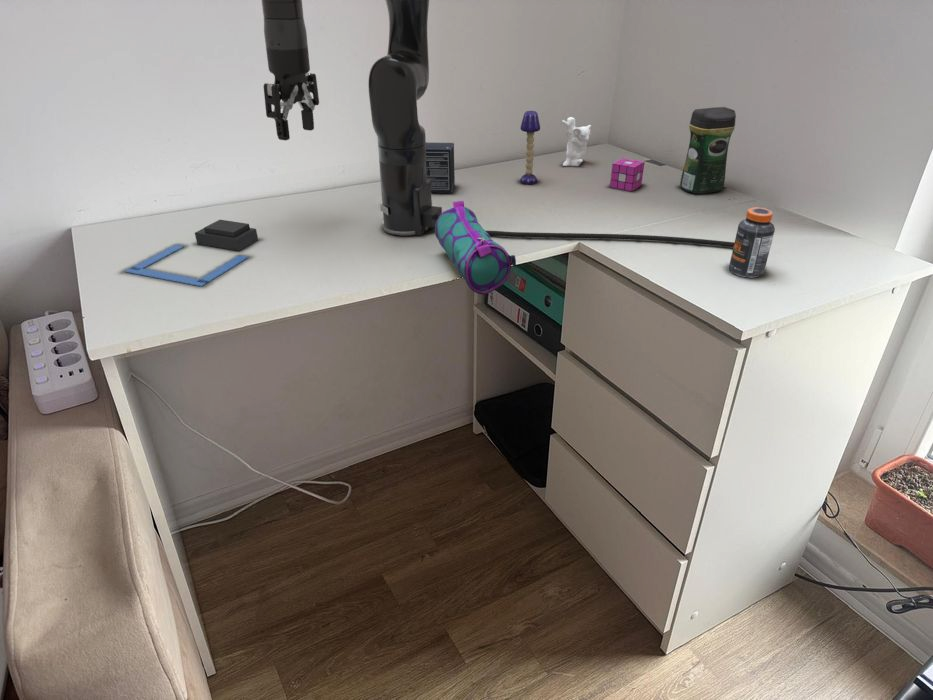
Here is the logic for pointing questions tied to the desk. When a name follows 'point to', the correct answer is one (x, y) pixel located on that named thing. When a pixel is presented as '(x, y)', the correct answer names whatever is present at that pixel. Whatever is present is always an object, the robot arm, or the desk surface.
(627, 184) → the puzzle toy
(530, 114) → the toy lamp
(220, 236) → the dark raised-panel slab
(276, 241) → the desk surface
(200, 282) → the frame
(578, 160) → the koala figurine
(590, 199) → the desk surface
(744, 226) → the pill bottle
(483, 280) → the pencil case
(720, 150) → the coffee jar
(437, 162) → the small box
